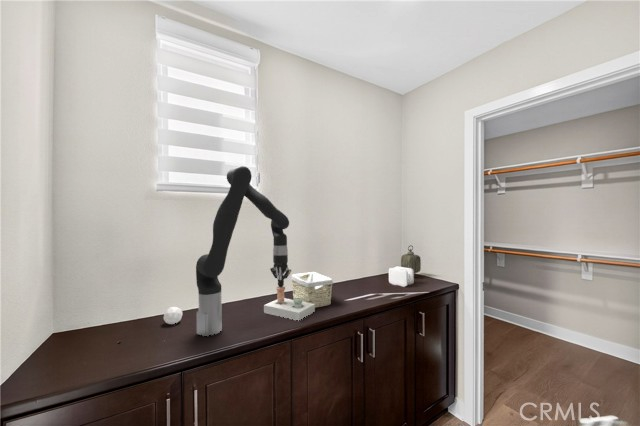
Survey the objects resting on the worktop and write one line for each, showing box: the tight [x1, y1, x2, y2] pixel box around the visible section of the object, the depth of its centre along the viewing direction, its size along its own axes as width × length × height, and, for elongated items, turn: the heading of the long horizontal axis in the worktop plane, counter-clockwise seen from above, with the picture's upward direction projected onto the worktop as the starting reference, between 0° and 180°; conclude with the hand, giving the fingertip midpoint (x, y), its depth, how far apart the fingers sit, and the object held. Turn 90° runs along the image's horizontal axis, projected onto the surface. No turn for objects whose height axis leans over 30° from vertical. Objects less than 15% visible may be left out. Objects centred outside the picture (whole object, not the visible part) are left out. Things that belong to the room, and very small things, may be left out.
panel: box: [263, 297, 316, 322], centre depth 138 cm, size 14×22×4 cm, turn 59°
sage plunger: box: [292, 298, 303, 309], centre depth 135 cm, size 5×5×7 cm
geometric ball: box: [163, 306, 183, 325], centre depth 125 cm, size 8×8×8 cm
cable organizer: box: [388, 265, 415, 288], centre depth 189 cm, size 15×11×12 cm
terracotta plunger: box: [275, 286, 286, 302], centre depth 141 cm, size 5×5×7 cm
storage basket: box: [290, 271, 334, 309], centre depth 154 cm, size 24×16×15 cm
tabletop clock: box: [400, 245, 422, 279], centre depth 209 cm, size 14×9×25 cm, turn 130°
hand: (280, 286), depth 141 cm, fingers closed
